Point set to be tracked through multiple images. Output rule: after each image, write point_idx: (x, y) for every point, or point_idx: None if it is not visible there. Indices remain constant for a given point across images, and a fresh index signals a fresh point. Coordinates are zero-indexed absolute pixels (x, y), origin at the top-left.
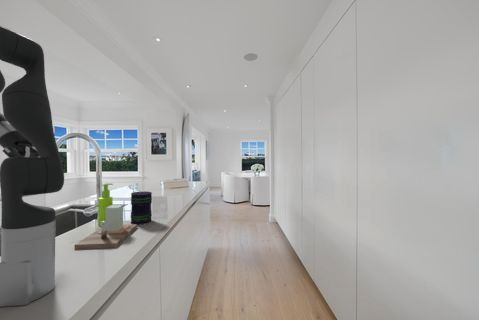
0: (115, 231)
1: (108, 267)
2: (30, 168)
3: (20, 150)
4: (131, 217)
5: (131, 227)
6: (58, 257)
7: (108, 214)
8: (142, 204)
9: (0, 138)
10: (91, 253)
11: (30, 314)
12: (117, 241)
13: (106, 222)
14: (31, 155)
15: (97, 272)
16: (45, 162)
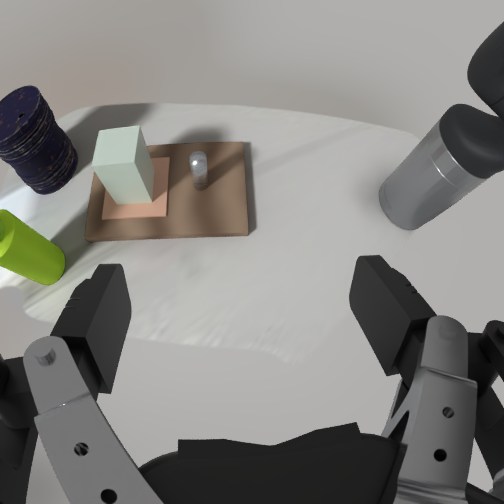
0: (157, 174)
1: (329, 130)
2: None
3: (481, 492)
4: (56, 175)
5: None
6: (294, 242)
7: (140, 166)
8: (53, 117)
9: None
10: (273, 182)
11: None
12: (231, 142)
13: (200, 153)
14: (337, 431)
15: (345, 140)
16: None
